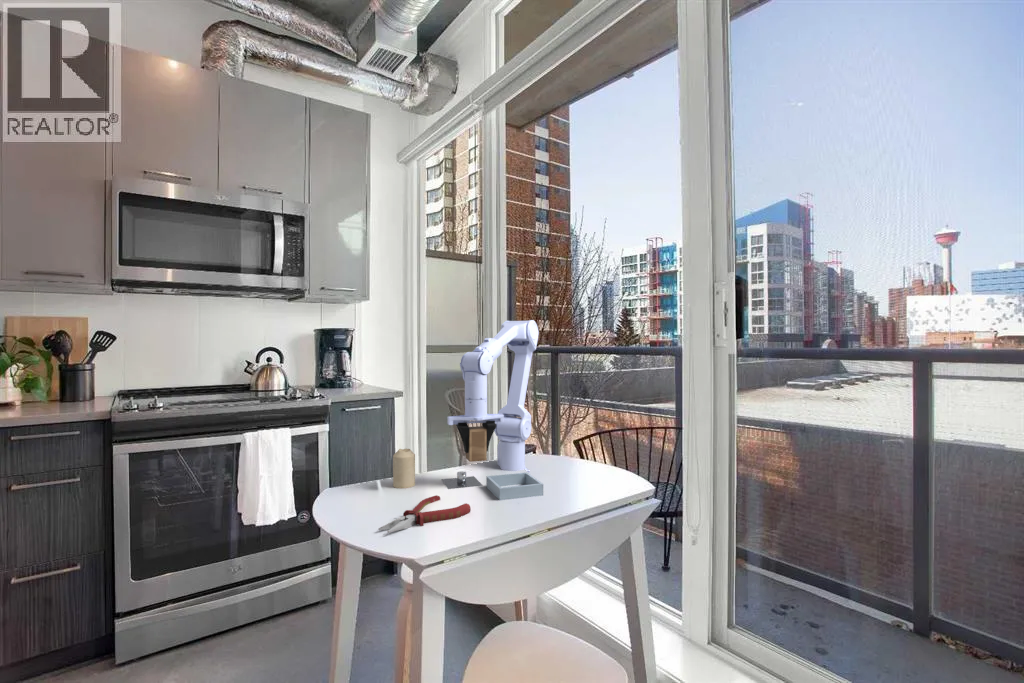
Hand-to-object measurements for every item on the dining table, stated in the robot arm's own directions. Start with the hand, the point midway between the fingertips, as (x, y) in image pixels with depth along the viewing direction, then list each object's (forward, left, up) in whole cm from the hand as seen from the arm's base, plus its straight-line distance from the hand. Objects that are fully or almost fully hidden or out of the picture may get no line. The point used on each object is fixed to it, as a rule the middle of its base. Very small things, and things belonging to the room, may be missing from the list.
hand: (476, 451), depth 127 cm
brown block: (0, 0, -2) cm, 2 cm away
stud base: (-3, -3, -9) cm, 10 cm away
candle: (-6, -18, -10) cm, 21 cm away
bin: (+8, +7, -9) cm, 15 cm away
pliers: (+16, -17, -10) cm, 25 cm away
